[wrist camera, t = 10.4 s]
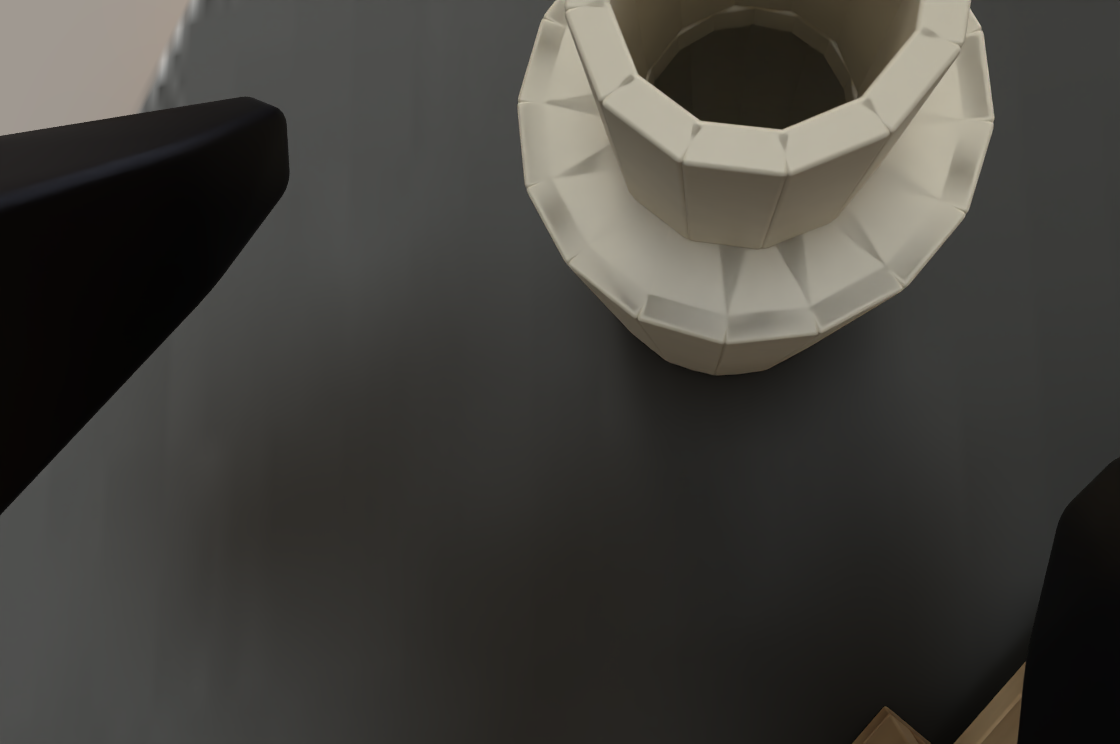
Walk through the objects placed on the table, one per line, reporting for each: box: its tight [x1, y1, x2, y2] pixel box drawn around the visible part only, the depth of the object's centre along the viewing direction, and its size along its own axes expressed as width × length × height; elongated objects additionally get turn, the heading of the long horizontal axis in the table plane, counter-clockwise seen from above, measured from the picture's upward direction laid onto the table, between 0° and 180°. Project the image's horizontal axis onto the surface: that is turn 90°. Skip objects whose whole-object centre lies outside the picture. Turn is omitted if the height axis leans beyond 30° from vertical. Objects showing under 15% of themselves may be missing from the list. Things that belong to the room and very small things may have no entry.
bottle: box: [517, 0, 995, 376], centre depth 12 cm, size 5×5×12 cm
